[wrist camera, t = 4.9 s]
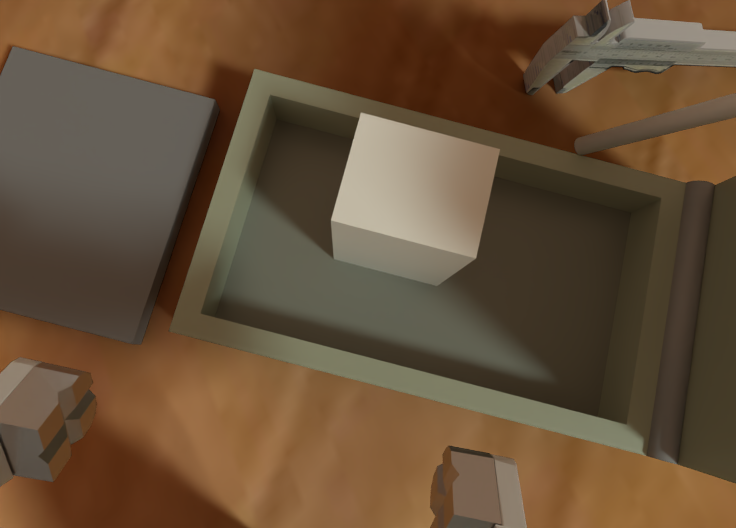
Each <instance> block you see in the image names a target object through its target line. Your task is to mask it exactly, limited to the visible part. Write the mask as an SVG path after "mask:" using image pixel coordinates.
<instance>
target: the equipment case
mask: <svg viewBox="0 0 736 528" xmlns="http://www.w3.org/2000/svg"><path fill="white" fill-rule="evenodd" d="M361 113H365V114H369V115H372V116H376V117H380V118H384V119H388V120H391V121H395V122H399V123H403V124H406V125H410V126H414V127H418V128H422V129H425V130H429V131H433V132H437V133H441V134H444V135H448V136H452V137H456V138H459V139H463V140H467V141H471V142H475V143H478V144H482V145H486V146H490V147H494V148H497V149H500V152H499V156H498V161H497V166H496V170H495V175H494V179H493V184H492V188H491V193H490V197H489V202H488V206H487V211H486V215H485V220H484V225H483V229H482V234H481V238H480V243H479V247H478V252H477V256H476V259H475V260H473V261H472V262H470V263H469V264H467V265H466V266H465V267H463V268H462V269H460V270H459V271H458V272H456V273H455V274H453V275H452V276H450V277H449V278H448V279H446V280H445V281H443V282H442V283H441V284H439V285H438V286H435V285H431V284H427V283H423V282H419V281H416V280H412V279H408V278H404V277H400V276H397V275H393V274H389V273H385V272H381V271H377V270H374V269H370V268H366V267H362V266H358V265H355V264H351V263H347V262H343V261H339V260H335V259H334V256H333V243H332V229H331V218H332V215H333V211H334V207H335V204H336V200H337V197H338V193H339V189H340V186H341V182H342V179H343V175H344V172H345V168H346V164H347V161H348V157H349V154H350V150H351V146H352V143H353V139H354V136H355V132H356V129H357V125H358V121H359V118H360V114H361ZM735 117H736V93H734V94H731V95H727V96H724V97H720V98H717V99H713V100H710V101H706V102H703V103H699V104H696V105H692V106H688V107H685V108H681V109H678V110H674V111H671V112H667V113H664V114H660V115H657V116H653V117H650V118H646V119H643V120H639V121H636V122H632V123H629V124H625V125H621V126H618V127H614V128H611V129H607V130H604V131H600V132H597V133H593V134H590V135H586V136H583V137H579V138H577V139H576V140H575V144H574V146H575V150H576V152H577V154H575V153H571V152H567V151H563V150H560V149H556V148H552V147H548V146H544V145H541V144H537V143H533V142H529V141H526V140H522V139H518V138H514V137H510V136H507V135H503V134H499V133H495V132H491V131H488V130H484V129H480V128H476V127H473V126H469V125H465V124H461V123H457V122H454V121H450V120H446V119H442V118H438V117H435V116H431V115H427V114H423V113H420V112H416V111H412V110H408V109H404V108H401V107H397V106H393V105H389V104H386V103H382V102H378V101H374V100H370V99H367V98H363V97H359V96H355V95H351V94H348V93H344V92H340V91H336V90H333V89H329V88H325V87H321V86H317V85H314V84H310V83H306V82H302V81H299V80H295V79H291V78H287V77H283V76H280V75H276V74H272V73H268V72H264V71H261V70H257V69H254V72H253V75H252V78H251V81H250V84H249V87H248V90H247V93H246V96H245V99H244V102H243V105H242V109H241V112H240V115H239V118H238V121H237V124H236V127H235V130H234V133H233V136H232V139H231V142H230V145H229V148H228V151H227V154H226V157H225V160H224V164H223V167H222V170H221V173H220V176H219V179H218V182H217V185H216V188H215V191H214V194H213V197H212V200H211V203H210V206H209V209H208V212H207V215H206V219H205V222H204V225H203V228H202V231H201V234H200V237H199V240H198V243H197V246H196V249H195V252H194V255H193V258H192V261H191V264H190V267H189V270H188V273H187V277H186V280H185V283H184V286H183V289H182V292H181V295H180V298H179V301H178V304H177V307H176V310H175V313H174V316H173V319H172V322H171V325H170V328H169V332H173V333H177V334H181V335H185V336H188V337H192V338H196V339H200V340H204V341H208V342H212V343H215V344H219V345H223V346H227V347H231V348H235V349H238V350H242V351H246V352H250V353H254V354H258V355H261V356H265V357H269V358H273V359H277V360H281V361H285V362H288V363H292V364H296V365H300V366H304V367H308V368H311V369H315V370H319V371H323V372H327V373H331V374H334V375H338V376H342V377H346V378H350V379H354V380H358V381H361V382H365V383H369V384H373V385H377V386H381V387H384V388H388V389H392V390H396V391H400V392H404V393H407V394H411V395H415V396H419V397H423V398H427V399H431V400H434V401H438V402H442V403H446V404H450V405H454V406H457V407H461V408H465V409H469V410H473V411H477V412H481V413H484V414H488V415H492V416H496V417H500V418H504V419H507V420H511V421H515V422H519V423H523V424H527V425H530V426H534V427H538V428H542V429H546V430H550V431H554V432H557V433H561V434H565V435H569V436H573V437H577V438H580V439H584V440H588V441H592V442H596V443H600V444H603V445H607V446H611V447H615V448H619V449H623V450H627V451H630V452H634V453H638V454H642V455H646V456H649V457H652V458H656V459H659V460H663V461H666V462H670V463H674V464H678V465H681V466H684V467H687V468H691V469H694V470H697V471H700V472H703V473H706V474H709V475H712V476H715V477H718V478H721V479H724V480H727V481H730V482H733V483H736V176H735V177H732V178H730V179H728V180H726V181H724V182H721V183H719V184H717V185H714V184H713V183H710V182H707V181H691V182H687V183H684V182H681V181H677V180H673V179H669V178H665V177H662V176H658V175H654V174H650V173H647V172H643V171H639V170H635V169H631V168H628V167H624V166H620V165H616V164H613V163H609V162H605V161H601V160H597V159H594V158H590V157H586V156H582V155H585V154H589V153H593V152H597V151H601V150H605V149H609V148H613V147H617V146H621V145H626V144H630V143H634V142H638V141H642V140H646V139H650V138H654V137H658V136H662V135H666V134H670V133H674V132H678V131H682V130H686V129H690V128H694V127H698V126H702V125H706V124H710V123H714V122H718V121H722V120H726V119H731V118H735ZM578 154H579V155H578Z"/></svg>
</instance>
